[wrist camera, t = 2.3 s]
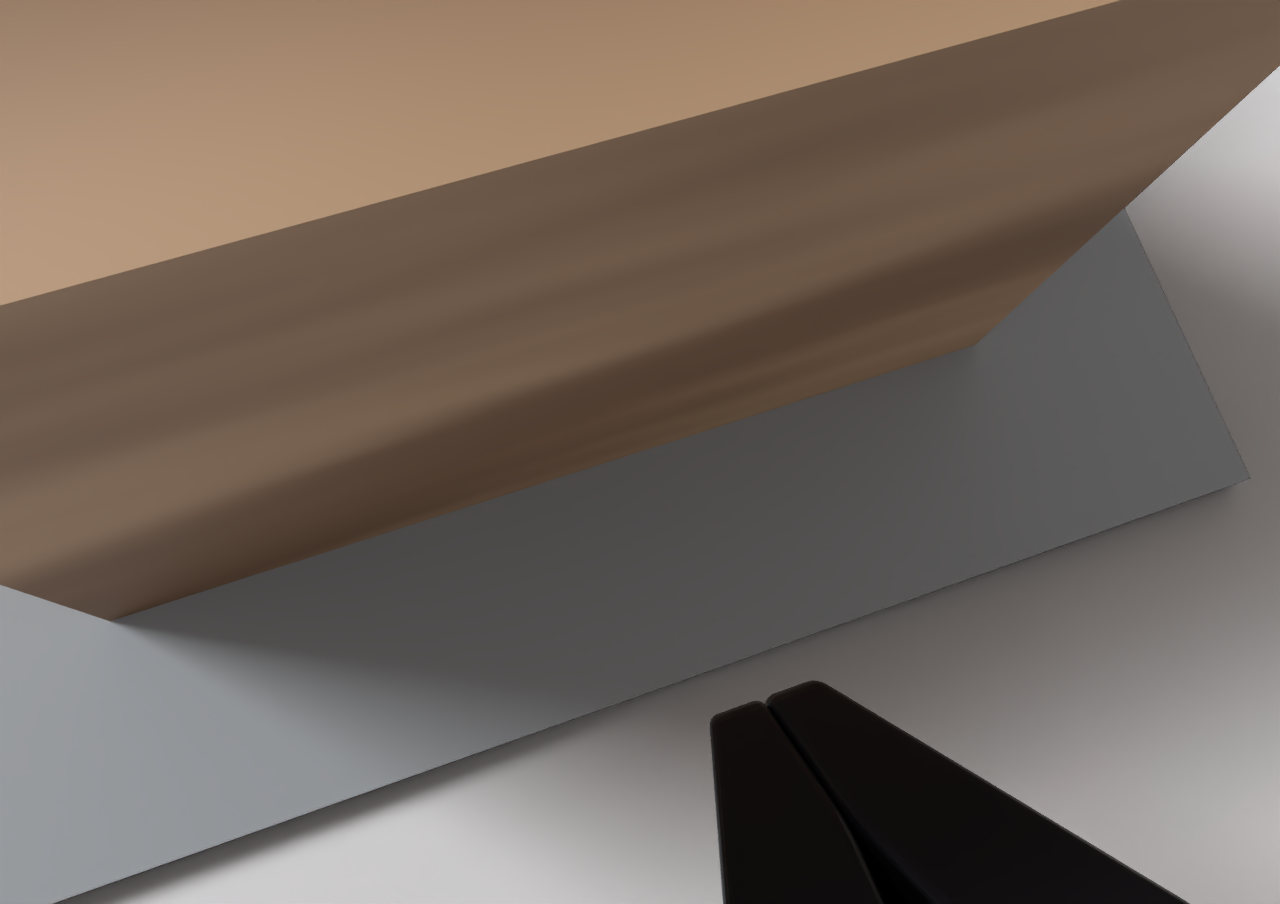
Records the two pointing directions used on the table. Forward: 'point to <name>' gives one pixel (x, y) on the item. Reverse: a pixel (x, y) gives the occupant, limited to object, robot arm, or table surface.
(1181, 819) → the table surface
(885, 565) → the runner mat
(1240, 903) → the table surface
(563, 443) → the t block
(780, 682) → the table surface
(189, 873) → the table surface
